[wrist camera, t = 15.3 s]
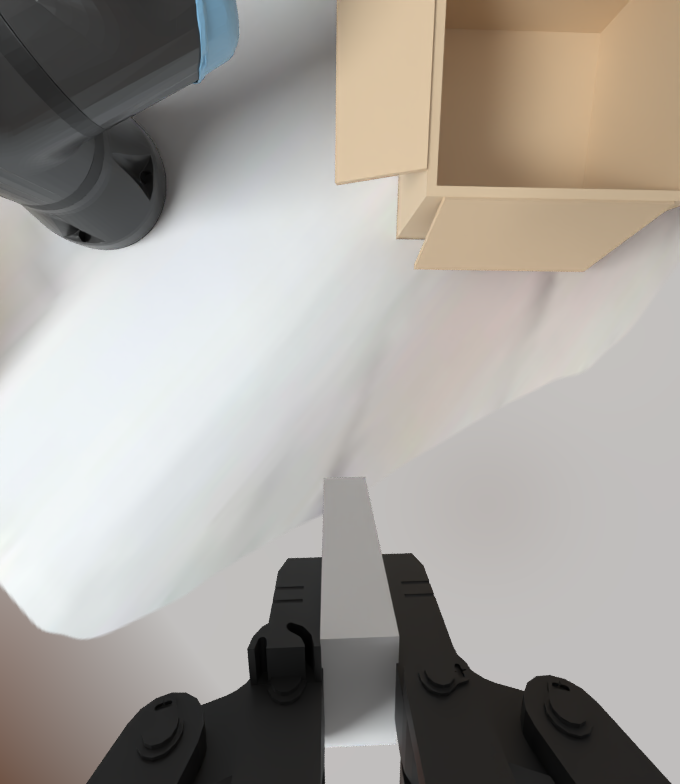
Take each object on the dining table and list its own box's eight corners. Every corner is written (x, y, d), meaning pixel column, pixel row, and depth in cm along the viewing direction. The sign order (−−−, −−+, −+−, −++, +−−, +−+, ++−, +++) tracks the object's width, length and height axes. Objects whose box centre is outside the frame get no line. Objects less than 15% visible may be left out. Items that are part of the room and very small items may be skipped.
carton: (634, 277, 45) (772, 253, 30) (334, 273, 44) (334, 246, 30) (669, 32, 40) (849, -127, 26) (336, 22, 39) (338, -147, 25)
